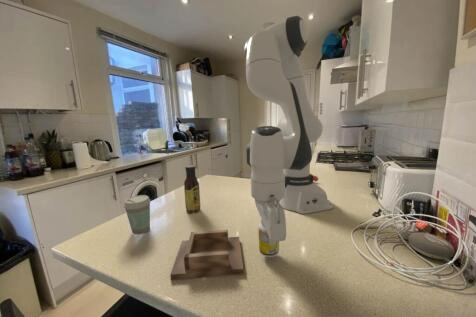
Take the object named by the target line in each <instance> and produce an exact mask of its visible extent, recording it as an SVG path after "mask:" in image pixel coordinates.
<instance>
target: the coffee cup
mask: <svg viewBox="0 0 476 317" xmlns="http://www.w3.org/2000/svg"><path fill="white" fill-rule="evenodd" d="M123 208H124V209H125V212H126V216H127V219H128V223H129V227H130V230H131V232H132V234H133V235H141V234H145V233H146V232H149V231H150V229H151V228H150V227H151V199H150V197H149V196H148V195H146V194H139V195H135V196H130V197H129V198H126V199H125V201H124V204H123Z"/></svg>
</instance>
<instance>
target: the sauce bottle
mask: <svg viewBox="0 0 476 317" xmlns="http://www.w3.org/2000/svg"><path fill="white" fill-rule="evenodd" d="M184 170H185V174H186V175H185V177H186V178H185V179H184V182H183V185H184V188H183V190H184V201H185V202H184V203H185V209H186V210H185V211H186V213H187V214H190V215H191V214H198V213H199V212H200V211H201V193H200V183H199V181H198V178H197V175H196V165H193V164H191V165H186V166H185V168H184Z"/></svg>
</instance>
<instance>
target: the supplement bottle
mask: <svg viewBox="0 0 476 317" xmlns="http://www.w3.org/2000/svg"><path fill="white" fill-rule="evenodd" d="M268 237H269V236H268V233H267V231H266V229H265V226H264V224H263V221H262V218H261V217H260V222H259V224H258V250H259V253H260V254H261V255H262V256H264V257H267V258H273V257H275V256H277V255H278V254H279V253H280V252H279V251H280V241H276V245H274V246H270V245H269V243H268Z"/></svg>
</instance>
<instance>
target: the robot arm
mask: <svg viewBox="0 0 476 317" xmlns="http://www.w3.org/2000/svg"><path fill="white" fill-rule="evenodd" d="M307 43H308V27H307V25H306V23H305V22H304V19H303V18H302V17H300V16H299V15H294V16H289V17H286V19H284V20H281V21H278V22H276V23H273V24H271V25H269V26H268V27H267V28H264V29H262V30H258V31H256V32H254V33H253V34H251V36H250V38H248V39H247V40H246V41H245V44H244V48H243V51H244V57H245V77H246V85H247V88H248V89H249V91H250V92H251V93H252V94H253V95H254V96H256V98H259V99H261V100H263V101H267V102H271V103H274V104H275V105H279V107H280V108H281V109H282V112H283V114H284V117H283V118H281V119H280V120H279V122H278V123H277V126H273V125H264V126H258V127H255V128H253V129H252V131H251V135H250V141H249V142H248V143H247V144H246V146H245V151H246V164H248V166H249V167H250V168H251V175H250V194H251V197H252V199H254V203H255V204H254V205H255V206H256V209H257V212H258V214H259V216H260V219H261V218H262V221H263V224H264V226H265V229H266V231H267V233H268V236H269V237H268V243H269V245H270V246H274V245H276V241H279V242H282V241H285V240H286V238H287V221H286V220H287V219H286V213H285V210H288V211H292V212H296V213H299V214H302V215H306V214H310V213H311V214H312V213H317V212H323V211H324V212H325V211H328V210H334V204H333V203H332V201H330V200H329V198H328V195H327V192H326V190H324V188H322V187H321V186H320V185H318V184H316V183H315V182H318V181H319V177H318V176H316V175H313V174H312V173H310V172H311V170H310V169H311V162H312V159H313V158H312V157H313V150H312V146H311V143H315V142H316V141H318V140H319V139H320V138H321V137H322V134H323V124H322V122H321V120H320V119H319V118H318V117H317V116H316V114H315V113H314V110H313V108H312V106H311V104H310V102H309V99H308V95H307V92H306V85H305V78H304V74H303V73H304V72H303V67H302V63H301V61H300V57H301V55H302V52H303V51H304V50H305V47H306V45H307Z"/></svg>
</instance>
